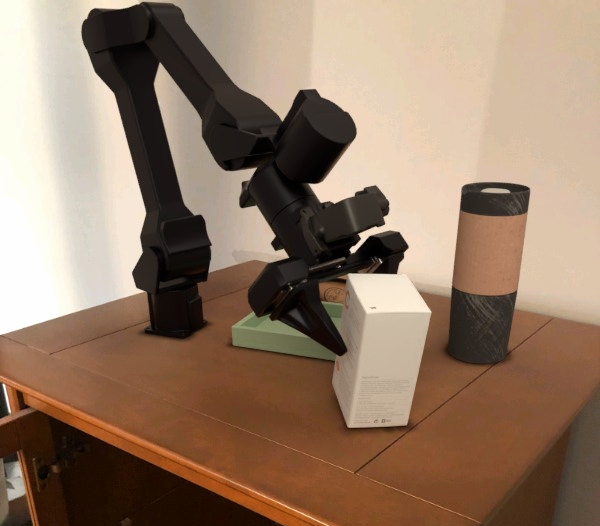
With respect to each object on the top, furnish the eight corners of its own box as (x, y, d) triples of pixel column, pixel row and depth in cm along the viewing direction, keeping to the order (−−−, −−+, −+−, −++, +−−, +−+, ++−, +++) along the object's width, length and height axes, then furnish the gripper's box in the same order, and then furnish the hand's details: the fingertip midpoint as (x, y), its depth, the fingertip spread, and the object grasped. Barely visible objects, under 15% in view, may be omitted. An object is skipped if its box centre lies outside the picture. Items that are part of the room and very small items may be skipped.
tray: (232, 345, 88) (231, 326, 86) (275, 312, 99) (275, 295, 98) (378, 367, 81) (378, 347, 80) (406, 329, 92) (407, 311, 91)
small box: (408, 427, 68) (434, 312, 60) (346, 429, 67) (365, 312, 59) (387, 381, 74) (408, 272, 66) (330, 382, 73) (345, 272, 65)
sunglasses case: (344, 317, 95) (326, 272, 95) (313, 330, 100) (296, 288, 100) (419, 288, 106) (404, 248, 106) (387, 302, 112) (373, 264, 111)
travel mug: (519, 351, 85) (543, 186, 76) (489, 370, 80) (511, 196, 71) (465, 336, 89) (482, 179, 80) (433, 353, 84) (448, 188, 75)
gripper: (260, 171, 57) (356, 323, 55) (397, 149, 69) (482, 275, 67) (211, 249, 66) (293, 384, 64) (340, 218, 77) (414, 331, 75)
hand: (375, 340), depth 67 cm, fingers open, 9 cm apart
